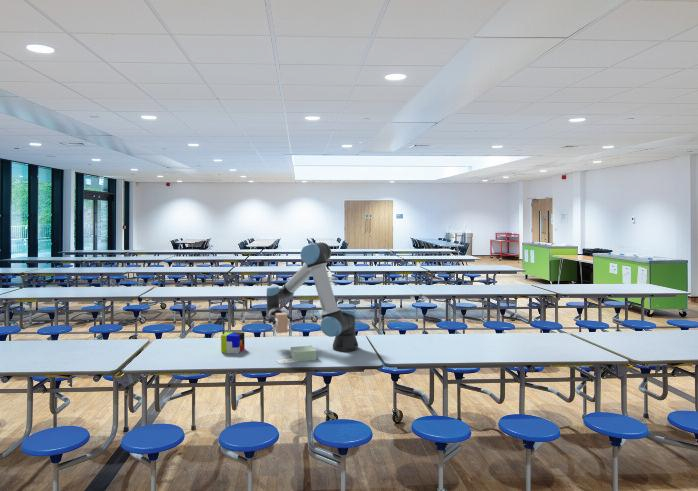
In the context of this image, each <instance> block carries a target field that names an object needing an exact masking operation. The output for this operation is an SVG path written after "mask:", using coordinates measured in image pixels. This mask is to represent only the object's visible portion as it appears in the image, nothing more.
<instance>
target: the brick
mask: <svg viewBox="0 0 698 491" xmlns="http://www.w3.org/2000/svg"><path fill="white" fill-rule="evenodd" d="M287 315H288V313H286V312H282V313H276V319H277V320H278V326H277V325H276V324H275V332H276V333H277V334H284V333H286V334H287V333H289V332H288V331H289V330H288V324H287Z"/></svg>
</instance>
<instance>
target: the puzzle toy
mask: <svg viewBox="0 0 698 491" xmlns="http://www.w3.org/2000/svg"><path fill="white" fill-rule="evenodd" d="M245 349H246V348H245V332H244V331H243V332H242V331H241V332H239V331H227V332H225V333H223V334H221V335H220V353H221V352H224V353H225V354H239V353H241V352H242V351H244V350H245Z"/></svg>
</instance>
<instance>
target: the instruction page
mask: <svg viewBox="0 0 698 491" xmlns="http://www.w3.org/2000/svg"><path fill="white" fill-rule="evenodd" d="M275 361H276V362H277V364H280V365H283V364H290V363H297V362H299V361H294V360H293V358H292V357H291V358H285V359H275Z"/></svg>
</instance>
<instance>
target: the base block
mask: <svg viewBox="0 0 698 491" xmlns="http://www.w3.org/2000/svg"><path fill="white" fill-rule="evenodd" d="M290 357H291V358H293V360H294V361H298V362H304V361H305V362H306V361H316V360H317V350H316V348H314V346H313V345H303V346H302V345H300V346H290Z"/></svg>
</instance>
